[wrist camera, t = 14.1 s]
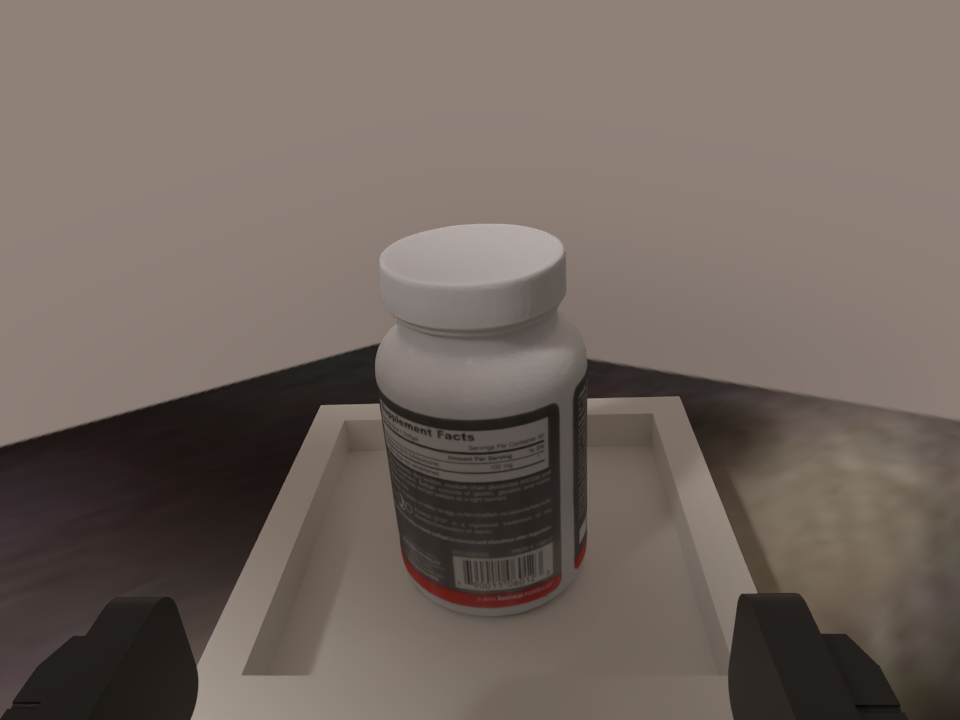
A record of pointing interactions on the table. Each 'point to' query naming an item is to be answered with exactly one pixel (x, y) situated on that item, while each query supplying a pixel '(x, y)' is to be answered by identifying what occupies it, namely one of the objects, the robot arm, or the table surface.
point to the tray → (483, 639)
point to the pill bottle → (484, 416)
